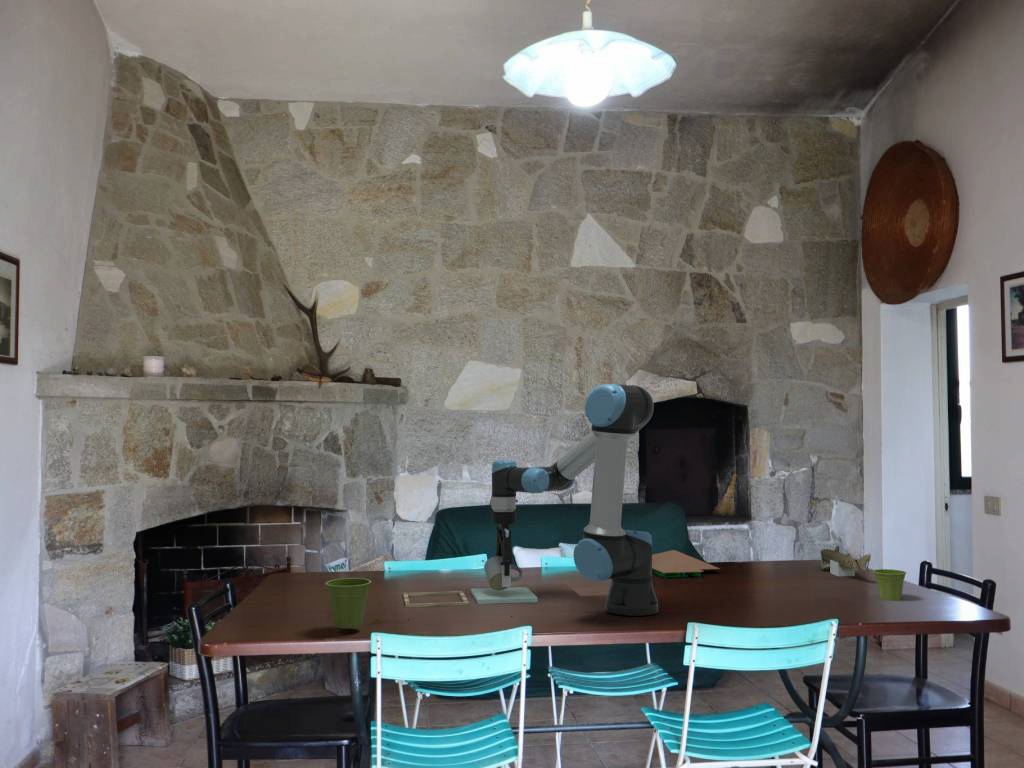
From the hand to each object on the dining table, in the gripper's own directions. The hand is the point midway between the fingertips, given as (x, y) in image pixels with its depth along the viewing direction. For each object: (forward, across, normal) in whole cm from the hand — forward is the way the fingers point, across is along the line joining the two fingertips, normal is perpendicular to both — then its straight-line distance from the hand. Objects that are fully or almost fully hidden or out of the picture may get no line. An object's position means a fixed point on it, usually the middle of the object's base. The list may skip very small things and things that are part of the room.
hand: (503, 583), depth 270 cm
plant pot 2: (+5, -20, -116) cm, 118 cm away
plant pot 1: (+4, -32, +46) cm, 56 cm away
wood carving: (+5, +16, -122) cm, 123 cm away
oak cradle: (+4, -2, +21) cm, 22 cm away
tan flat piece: (+5, +39, -69) cm, 79 cm away
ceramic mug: (+2, 0, 0) cm, 2 cm away
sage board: (+4, 0, 0) cm, 4 cm away
